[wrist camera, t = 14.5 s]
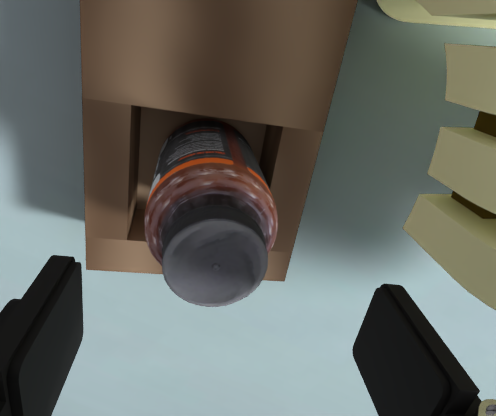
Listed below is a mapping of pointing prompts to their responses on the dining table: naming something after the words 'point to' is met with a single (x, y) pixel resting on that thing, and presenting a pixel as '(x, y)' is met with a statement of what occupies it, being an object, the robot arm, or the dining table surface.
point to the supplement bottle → (210, 214)
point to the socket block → (201, 104)
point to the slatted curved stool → (461, 152)
